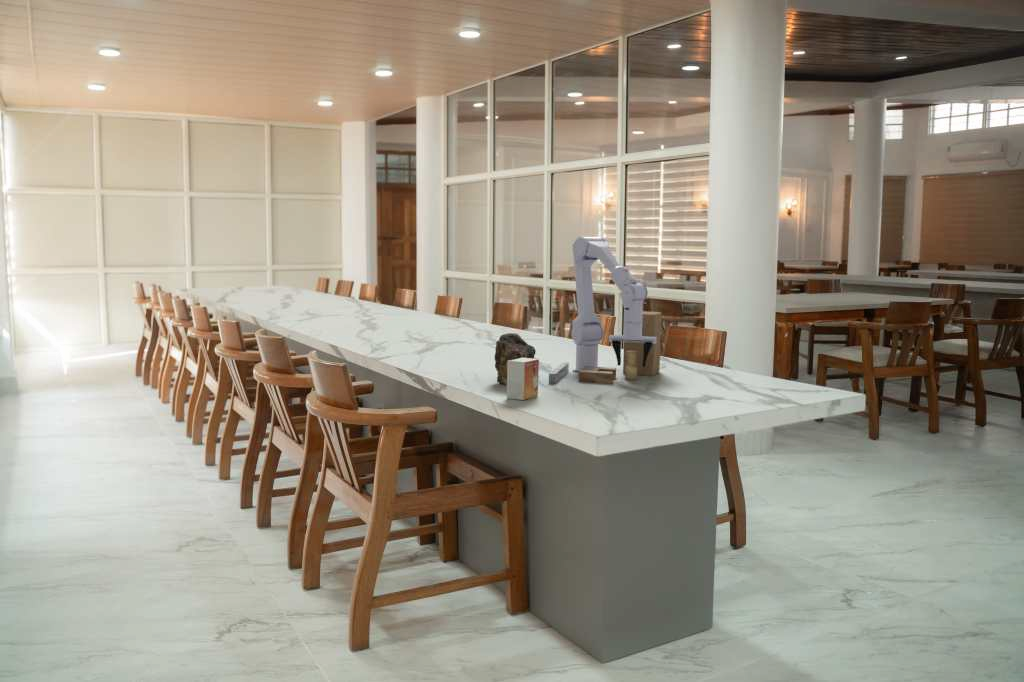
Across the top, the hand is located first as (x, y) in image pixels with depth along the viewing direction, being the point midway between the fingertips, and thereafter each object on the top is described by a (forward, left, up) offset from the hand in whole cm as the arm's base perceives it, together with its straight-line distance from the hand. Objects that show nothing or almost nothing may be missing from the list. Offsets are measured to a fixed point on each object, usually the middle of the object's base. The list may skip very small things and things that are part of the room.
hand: (631, 365), depth 266 cm
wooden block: (-15, +2, -5) cm, 16 cm away
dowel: (0, 0, -5) cm, 5 cm away
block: (+3, -10, -4) cm, 11 cm away
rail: (+3, -22, -5) cm, 23 cm away
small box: (+39, -26, -5) cm, 47 cm away
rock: (+17, -33, -5) cm, 37 cm away
